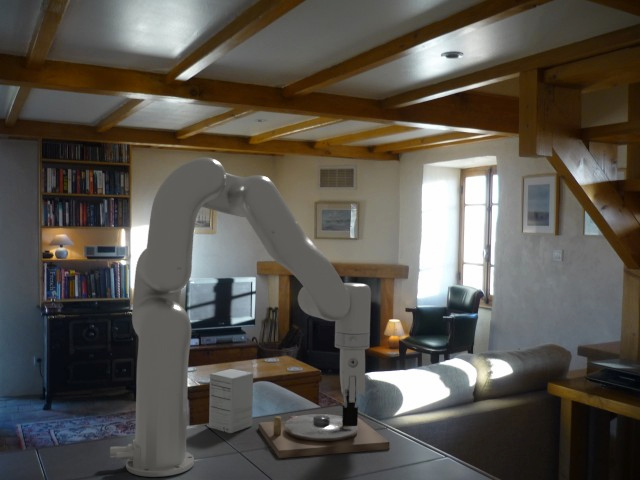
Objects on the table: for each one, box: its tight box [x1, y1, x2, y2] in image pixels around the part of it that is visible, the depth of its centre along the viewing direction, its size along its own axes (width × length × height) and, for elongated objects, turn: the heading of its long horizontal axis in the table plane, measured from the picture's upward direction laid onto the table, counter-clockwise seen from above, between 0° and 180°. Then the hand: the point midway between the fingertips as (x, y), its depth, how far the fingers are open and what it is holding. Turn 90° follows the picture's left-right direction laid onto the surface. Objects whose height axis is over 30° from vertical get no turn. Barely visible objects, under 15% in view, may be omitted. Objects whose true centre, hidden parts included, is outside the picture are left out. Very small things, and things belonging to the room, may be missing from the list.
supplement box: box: [208, 368, 254, 434], centre depth 148 cm, size 7×7×13 cm
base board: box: [258, 415, 390, 459], centre depth 140 cm, size 24×20×5 cm
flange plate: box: [285, 413, 358, 441], centre depth 141 cm, size 16×17×5 cm
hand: (349, 424), depth 138 cm, fingers closed
